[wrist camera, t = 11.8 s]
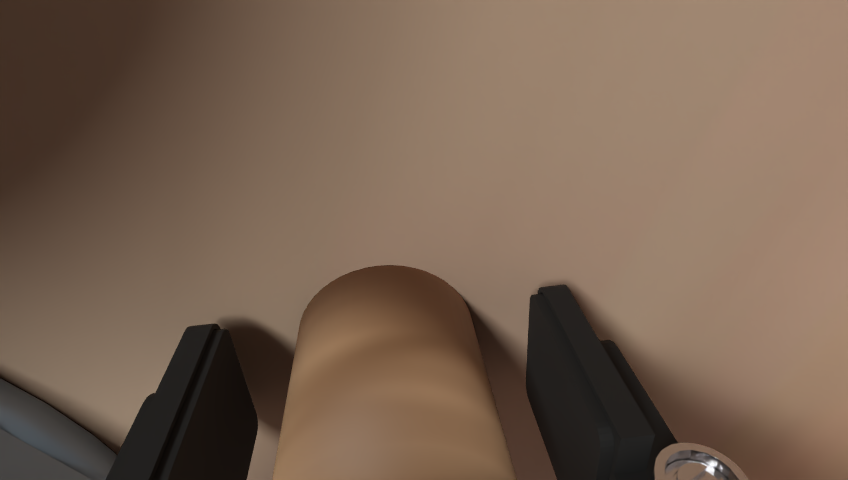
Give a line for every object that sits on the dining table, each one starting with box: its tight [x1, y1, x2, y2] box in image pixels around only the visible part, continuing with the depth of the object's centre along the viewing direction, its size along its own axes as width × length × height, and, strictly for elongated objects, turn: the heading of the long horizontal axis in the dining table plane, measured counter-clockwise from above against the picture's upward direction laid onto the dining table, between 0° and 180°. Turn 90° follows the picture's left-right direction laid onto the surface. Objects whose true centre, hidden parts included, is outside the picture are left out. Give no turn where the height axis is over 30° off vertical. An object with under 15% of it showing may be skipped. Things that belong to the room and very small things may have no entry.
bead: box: [272, 265, 517, 480], centre depth 10 cm, size 4×4×4 cm
